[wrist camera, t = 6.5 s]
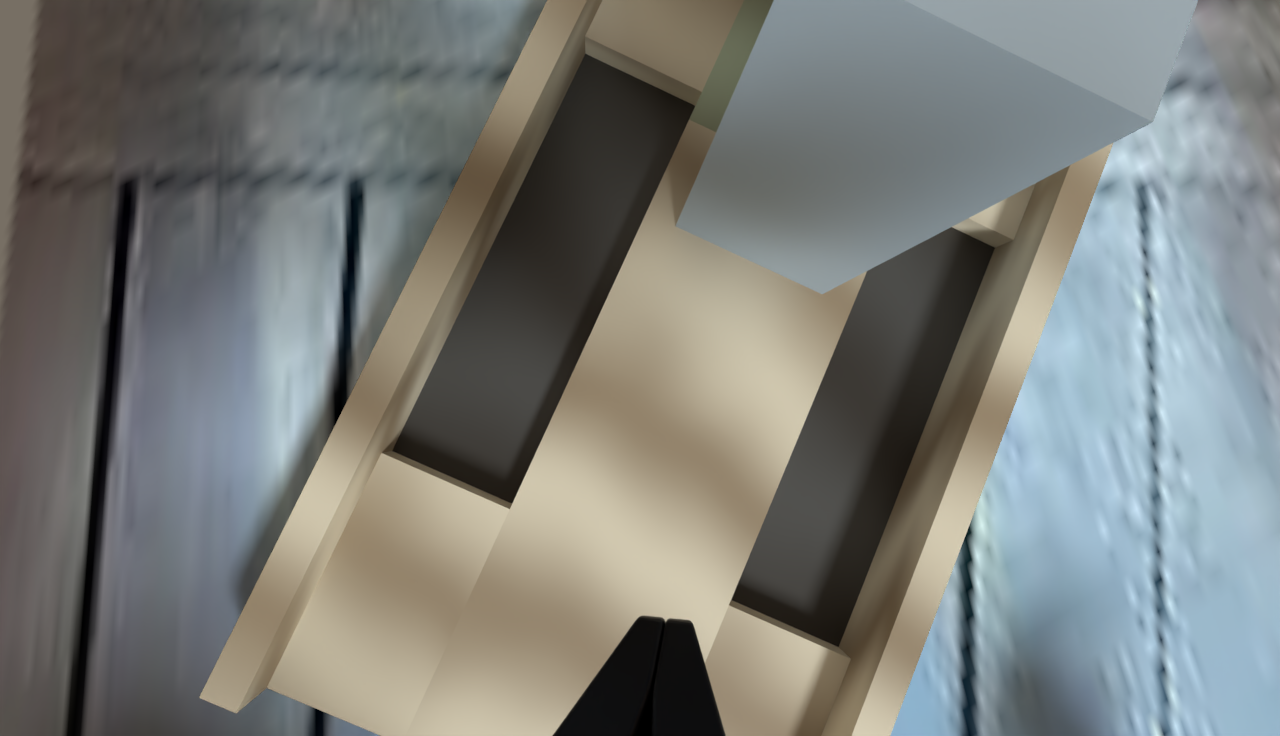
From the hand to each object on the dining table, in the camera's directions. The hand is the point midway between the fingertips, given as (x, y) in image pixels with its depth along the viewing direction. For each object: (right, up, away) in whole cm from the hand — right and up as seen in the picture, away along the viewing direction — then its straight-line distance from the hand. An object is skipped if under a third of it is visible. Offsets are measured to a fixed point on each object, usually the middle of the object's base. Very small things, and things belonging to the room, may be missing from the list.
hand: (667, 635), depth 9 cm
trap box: (+2, +6, +10) cm, 12 cm away
